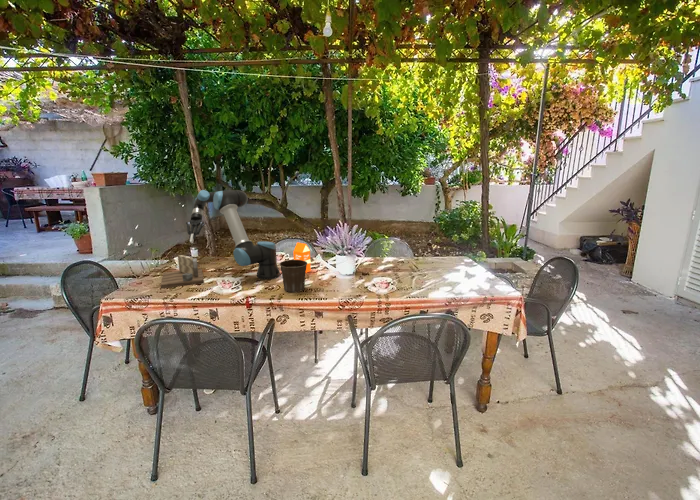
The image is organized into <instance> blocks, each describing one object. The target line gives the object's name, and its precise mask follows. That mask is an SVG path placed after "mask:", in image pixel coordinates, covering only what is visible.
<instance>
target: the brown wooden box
mask: <svg viewBox="0 0 700 500" xmlns="http://www.w3.org/2000/svg"><path fill="white" fill-rule="evenodd" d="M192 258H193V268H194V276H193V275H192V273H183V272H180V271H179V270H175V271H167V272H162V277H161V281H160V289H168V288H176V287H184V286H192V285H193V286H194V285H200V284H205V281H204V275H203V274H204V273H203V268H198V260H197V257H195V258H194V257H192Z"/></svg>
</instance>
